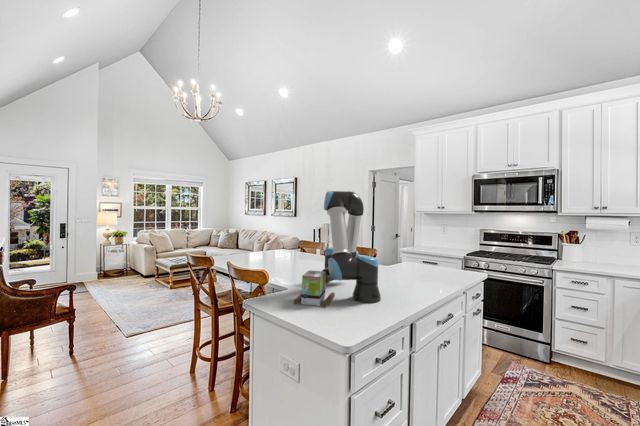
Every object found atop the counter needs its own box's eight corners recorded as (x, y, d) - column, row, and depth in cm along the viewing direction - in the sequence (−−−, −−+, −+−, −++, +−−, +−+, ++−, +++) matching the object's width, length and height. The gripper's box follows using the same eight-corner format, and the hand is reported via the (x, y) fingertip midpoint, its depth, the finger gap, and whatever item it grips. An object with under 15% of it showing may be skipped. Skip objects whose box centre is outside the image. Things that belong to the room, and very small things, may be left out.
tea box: (320, 306, 152) (320, 276, 152) (300, 304, 154) (301, 275, 154) (325, 297, 167) (326, 270, 167) (307, 296, 169) (308, 269, 169)
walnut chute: (334, 296, 170) (334, 292, 170) (326, 307, 150) (326, 303, 150) (305, 293, 174) (305, 290, 174) (293, 304, 155) (293, 300, 155)
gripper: (337, 281, 189) (328, 291, 166) (316, 279, 193) (305, 289, 170) (337, 269, 189) (328, 277, 166) (316, 267, 192) (305, 275, 170)
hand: (317, 283), depth 168 cm, fingers closed
